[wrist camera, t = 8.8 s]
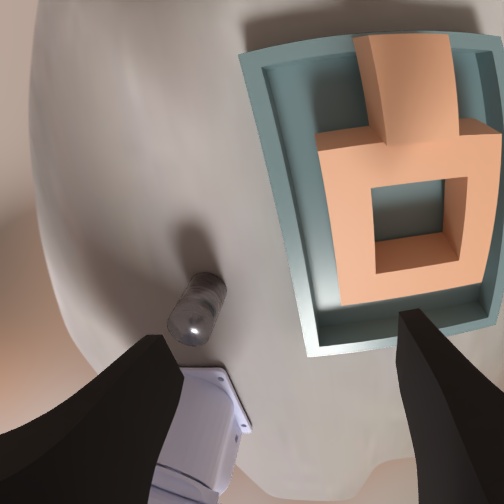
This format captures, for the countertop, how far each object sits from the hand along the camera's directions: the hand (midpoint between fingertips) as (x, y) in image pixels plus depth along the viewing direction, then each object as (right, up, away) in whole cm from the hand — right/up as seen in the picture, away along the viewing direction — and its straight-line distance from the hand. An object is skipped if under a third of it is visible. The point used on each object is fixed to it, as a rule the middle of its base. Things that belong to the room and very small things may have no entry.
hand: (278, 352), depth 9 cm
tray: (+7, +6, +6) cm, 11 cm away
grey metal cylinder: (-4, +1, +11) cm, 11 cm away
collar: (+6, +7, +4) cm, 10 cm away
